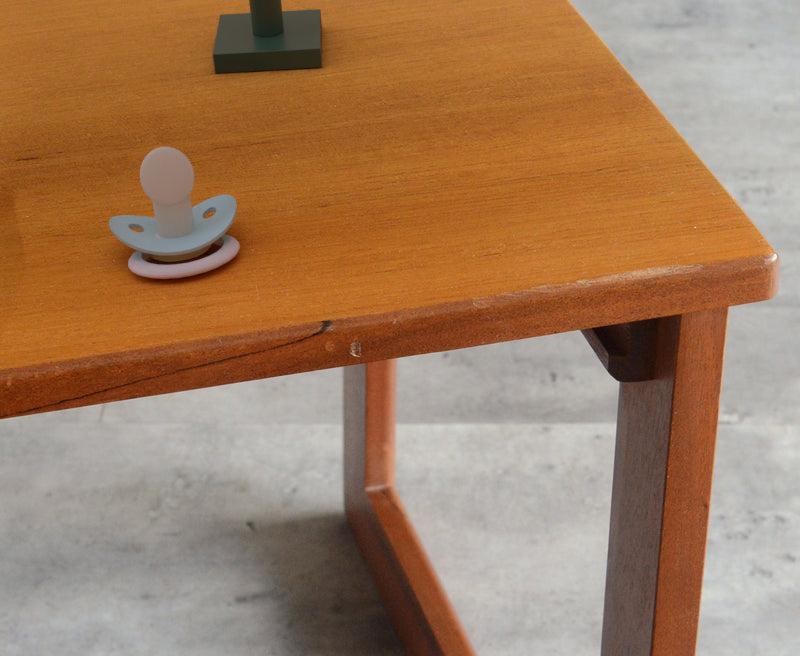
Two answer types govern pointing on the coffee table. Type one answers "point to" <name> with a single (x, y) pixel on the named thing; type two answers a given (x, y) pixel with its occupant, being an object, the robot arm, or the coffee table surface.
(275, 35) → the stand
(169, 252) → the pacifier
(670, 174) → the coffee table surface
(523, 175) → the coffee table surface
